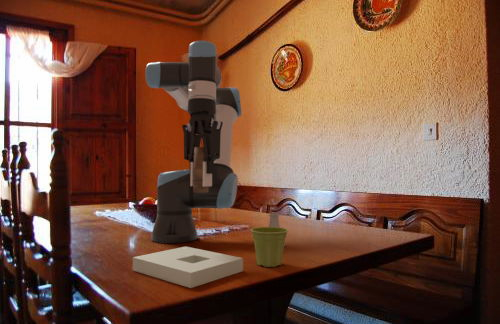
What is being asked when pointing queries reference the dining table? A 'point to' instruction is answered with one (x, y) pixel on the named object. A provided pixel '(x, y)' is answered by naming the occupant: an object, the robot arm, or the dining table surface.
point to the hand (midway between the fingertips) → (201, 186)
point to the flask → (274, 220)
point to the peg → (199, 170)
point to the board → (188, 266)
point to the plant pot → (269, 245)
